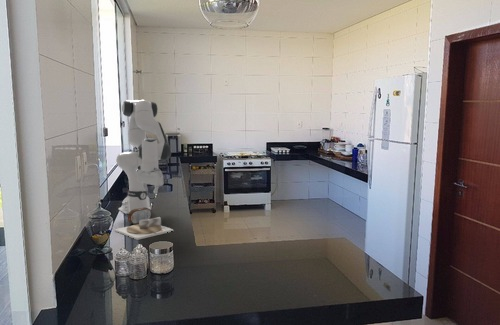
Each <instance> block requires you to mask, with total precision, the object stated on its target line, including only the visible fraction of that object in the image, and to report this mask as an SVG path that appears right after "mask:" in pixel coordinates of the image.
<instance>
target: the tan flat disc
mask: <svg viewBox="0 0 500 325" xmlns="http://www.w3.org/2000/svg"><path fill="white" fill-rule="evenodd" d="M160 225H162V217H160V216H158V217H151V218H150V219H147V220H146V219H144V220H140V221H139V223H138V224H133V225H129V227H128V226H127V227H128V228H127V232H129V233H133V234H149V233H154V232H158V231H160V230H161V226H160Z"/></svg>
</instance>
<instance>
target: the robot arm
mask: <svg viewBox="0 0 500 325" xmlns="http://www.w3.org/2000/svg"><path fill="white" fill-rule="evenodd" d="M121 111H122V114H123V115H124V116H125V117H130V118H129V122H128V142H129V144H130V146H132V147H134V148H137V151H125V152H120V153H118V154H117V156H116V159H115V160H116V165H117V166H118V168H120V169H121V170H122V171H124V173H125V174H126V175H127V178H128V188H129V189H128V190H127V196H126V197H125V198H124V199H123V200H122V202H121V206H120V207H118V211H120V212H122V213H124V214H125V215H128V214H129V212H130V211H131V210H133V209H139V208H144V207H146V208H148V209H150V210H151V211H152V207H150V206H151V203H150V197H149V196H148V195H149V194H148V193H149V188H148V185H151V186H153V187H154V189H153V194H158V193H159V191H158V190H159V187H162V186H163V185H164V183H165V182H164V175H163V171H162V170H161V169H160V168H159V161H167V160H169V159H170V158H171V156H172V149H171V146H170V143H169V142H168V140H167V135H166V134H165V131H164V129H163V127H162V124H161V122H160V121H157V119H156V117H157V115H158V112H159V109H158V104H157V103H156V102H154V101H149V100H145V99H141V100H138V99H135V100H134V99H132V100H131V99H126V100H124V101H123V103H122V105H121ZM147 132H149V133H152V134H153V135H155V136H156V137H157V139H156V138H155V137H147V136H148V135H147ZM158 142H159V143H158Z"/></svg>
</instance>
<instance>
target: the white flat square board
mask: <svg viewBox="0 0 500 325" xmlns="http://www.w3.org/2000/svg"><path fill="white" fill-rule="evenodd" d="M129 226H130V225H129ZM129 226H123V227H119V228H115V229H114V232H115V233H116V232H117V233H118V232H119V234H120V235H123V234H124V236H126V237H128V236H129V238H131V239H133V238H134V240H136V241H139V240H143V239H146V238H151V237H156V236H159V235H160V236H161V235H163V234H168V233H172V232H171V231H173V232H174V229H173V228H170V227H167V226H164V225H162V224H161V225H160V226H161V230H160V231H158V232H154V233H149V234H133V233H129V232H127V228H128V227H129ZM167 232H168V233H167Z"/></svg>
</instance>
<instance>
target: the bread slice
mask: <svg viewBox="0 0 500 325" xmlns="http://www.w3.org/2000/svg"><path fill="white" fill-rule="evenodd" d="M152 215H153V214H152V209H151V210H150V209H148V208H146V207H144V208H139V209H133V210H131V211H130V212H129V214H127V221H128V222H129V224H133V225H136V224H139V221H140V220H144V219H146V220H147V219H152Z"/></svg>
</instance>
